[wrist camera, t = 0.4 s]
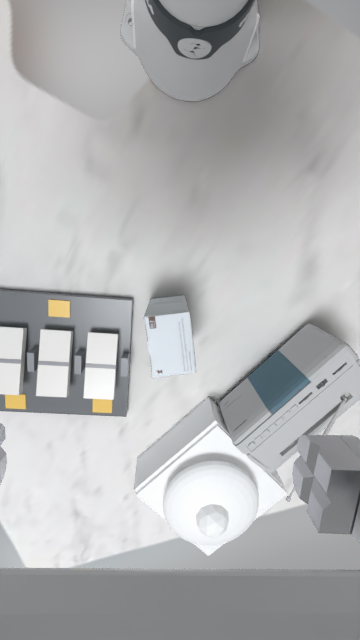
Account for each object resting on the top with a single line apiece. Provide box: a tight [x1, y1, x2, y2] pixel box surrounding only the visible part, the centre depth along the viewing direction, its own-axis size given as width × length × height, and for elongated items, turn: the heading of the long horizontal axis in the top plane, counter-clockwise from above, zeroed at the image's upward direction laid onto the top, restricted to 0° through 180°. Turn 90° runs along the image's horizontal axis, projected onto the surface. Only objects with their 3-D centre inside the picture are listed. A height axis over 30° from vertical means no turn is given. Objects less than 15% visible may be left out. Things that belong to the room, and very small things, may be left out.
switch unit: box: [0, 289, 133, 417], centre depth 53 cm, size 20×22×5 cm
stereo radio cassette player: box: [219, 324, 360, 502], centre depth 49 cm, size 21×8×20 cm, turn 134°
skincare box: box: [144, 295, 196, 379], centre depth 48 cm, size 8×6×15 cm
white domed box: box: [134, 397, 288, 556], centre depth 54 cm, size 18×18×16 cm
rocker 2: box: [36, 329, 73, 397], centre depth 51 cm, size 10×4×2 cm, turn 175°
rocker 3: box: [83, 332, 119, 400], centre depth 51 cm, size 10×4×2 cm, turn 175°
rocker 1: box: [0, 326, 27, 395], centre depth 50 cm, size 10×4×2 cm, turn 175°
